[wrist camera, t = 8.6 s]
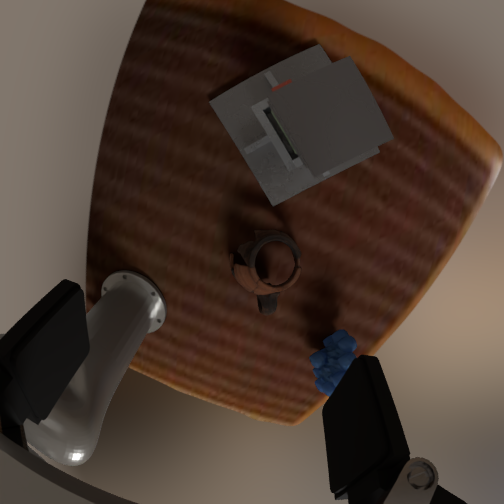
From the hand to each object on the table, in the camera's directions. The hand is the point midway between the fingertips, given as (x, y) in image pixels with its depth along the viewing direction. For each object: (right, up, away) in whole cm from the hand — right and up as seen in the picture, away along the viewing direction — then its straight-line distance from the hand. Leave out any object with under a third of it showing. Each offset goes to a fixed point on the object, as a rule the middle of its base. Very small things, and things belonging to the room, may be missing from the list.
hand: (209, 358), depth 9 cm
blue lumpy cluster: (+14, -11, +39) cm, 42 cm away
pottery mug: (+3, +2, +34) cm, 34 cm away
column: (+6, +17, +19) cm, 26 cm away
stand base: (+7, +20, +25) cm, 33 cm away
